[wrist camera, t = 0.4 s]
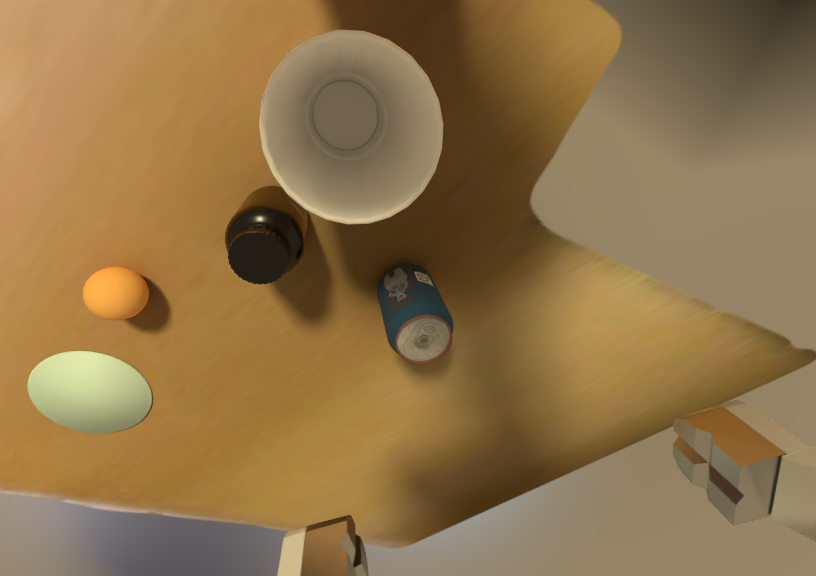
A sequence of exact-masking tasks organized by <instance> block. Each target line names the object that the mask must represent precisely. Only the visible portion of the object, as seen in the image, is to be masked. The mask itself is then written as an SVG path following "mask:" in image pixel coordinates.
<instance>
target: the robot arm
mask: <svg viewBox="0 0 816 576" xmlns="http://www.w3.org/2000/svg"><path fill="white" fill-rule="evenodd" d="M674 431H675V432H676V433H677V434H678V435H679V436H678V438H677V439H676V441H675V442H674V443H673V455H674V458H675V460H676V463H677V465H678V467H679V468H680V470H681V471H682V473H683V474H684V475H685V476H686V477H687V478H688V480H689V481H690V482H691V483H692V484H694V485H696V486H699V487H701V488H704V489H706V490H707V495H708V500H709V501H710V502H711V503H712V504H713V505H714V506H715V507H716V508H717V509H718V510H719V511H720V512H721V513H722V515H724V517H726V519H727V520H728V521H729V522H730V523H731V524H732V525H733V526H734V525H738V524H741V523H745V522H749V521H753V520H756V519H760V518H764V517H768V516H771V518H772V519H774V520H776V521H777V522H779V523H781V524H783V525H785V526H787V527H789V528H791V529H793V530H795V531H796V532H798V533H800V534H802V535H804V536H806V537H808V538H810V539H812V540H814V541H815V542H816V446H814V447H809V446H808V445H806V444H805V443H803V442H802V441H800V440H799V439H797V438H796V437H794V436H793V435H792V434H790V433H789V432H787V431H786V430H784V429H782V428H781V427H780V426H778V425H777V424H775V423H774V422H772V421H771V420H770V419H768V418H767V417H765V416H764V415H762V414H761V413H759V412H758V411H756V410H755V409H753V408H752V407H750V406H749V405H748V404H746V403H744V402H741V401H739V400H735V401H732V402H728V403H725V404H722V405H718V406H716V407H710V408H707V409H704V410H700V411H697V412H694V413H691V414H688V415H684V416H681V417H678V418H677V419H676V420H675V422H674ZM278 576H368V566H367V558H366V552H365V549H364V545H363V542H362V540H361V537H360V536H358V535H356V534H355V523H354V521H353V519H352V516H351V515H347V516H343V517H340V518H336V519H332V520H328V521H324V522H321V523H317V524H313V525H309V526H306V527H302V528H299V529H295V530H292V531H288V532H287V533H286V535H285V537H284V539H283V545H282V551H281V557H280V563H279V569H278Z"/></svg>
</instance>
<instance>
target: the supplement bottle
mask: <svg viewBox="0 0 816 576" xmlns="http://www.w3.org/2000/svg"><path fill="white" fill-rule="evenodd" d="M307 228H308V213H307V210H305V209H304V208H303V207H302V206H301V205H299V204H298V203H297V202H296V201H295V200H293V199H292V198H291V197H290V196H289V195H287V193H286V192H285V191H284V189H283V188H282V187H278V186H267V187H262V188H260V189H257V190H256V191H254V192H253V193H251V194H250V195H249V196H248V198H247V199H246V200H245V201H244V203H243V204H242V205H241V207H240V208H239V209H238V211H237V212H236V213H235V215H234V216H233V217H232V219H231V220H230V222H229V224H228V226H227V229H226V233H225V245H226V249H227V251H228V254H229V255H228V259H229V264H230V265H231V268H232V269H233V270H234V273H236V274H237V275H238V277H241V278H242V279H243V280H246V281H247V282H250V283H254V284H267V283H272V282H273V281H276V280H277V279H278V278H281V276H282V275H283V274H285V273H287V272H289V271H290V270H292V269H293V268H294V267H295V266H296V265H297V264H298V262H299V261H300V259H301V257H302V254H303V251H304V246H305V240H306V234H307Z"/></svg>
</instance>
